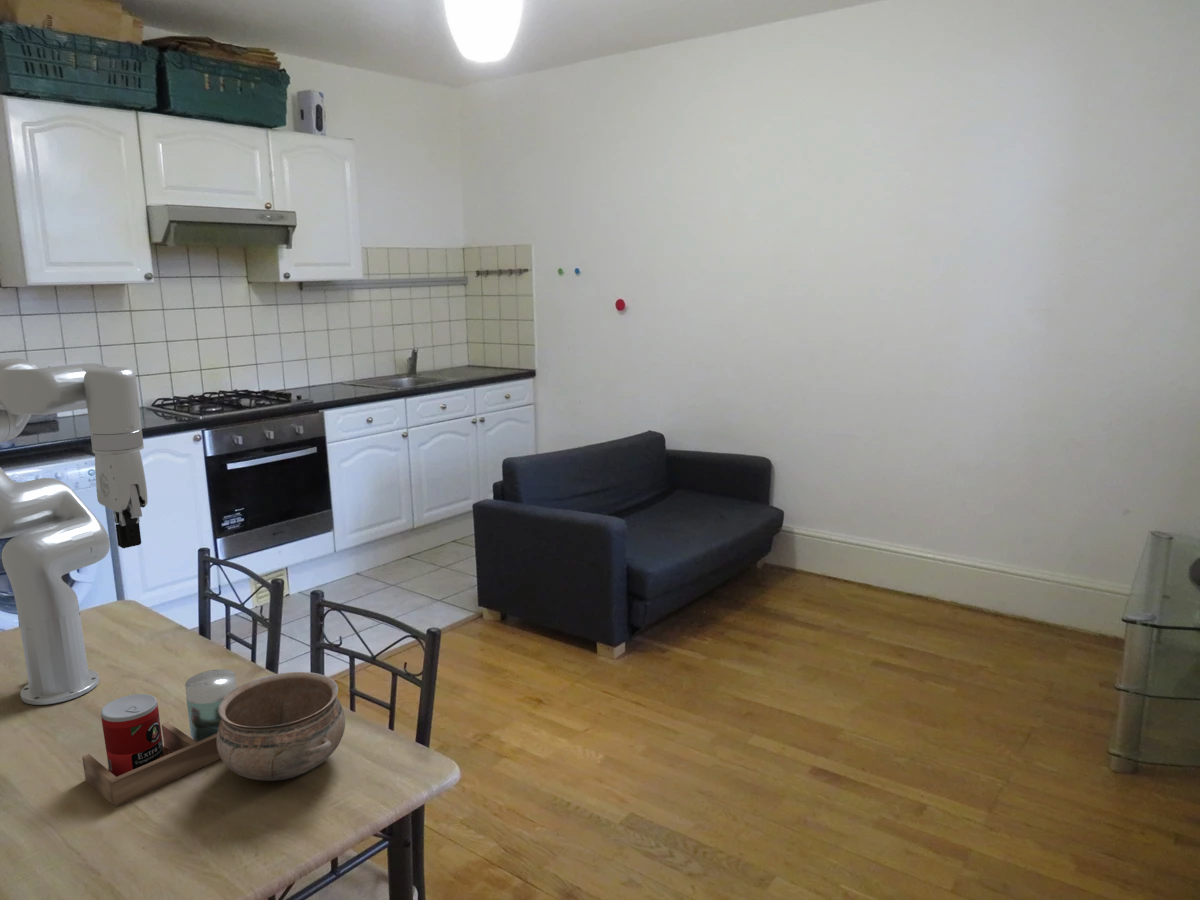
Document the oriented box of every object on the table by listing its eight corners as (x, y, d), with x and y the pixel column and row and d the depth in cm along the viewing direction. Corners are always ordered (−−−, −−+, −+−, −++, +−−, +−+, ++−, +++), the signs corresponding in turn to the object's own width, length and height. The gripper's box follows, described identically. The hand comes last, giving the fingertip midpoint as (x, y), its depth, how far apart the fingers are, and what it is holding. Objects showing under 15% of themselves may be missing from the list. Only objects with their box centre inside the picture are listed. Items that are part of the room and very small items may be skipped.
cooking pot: (191, 764, 134) (183, 694, 131) (301, 718, 147) (295, 654, 145) (267, 831, 117) (259, 752, 115) (382, 772, 131) (377, 701, 129)
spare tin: (183, 742, 140) (176, 681, 138) (227, 723, 146) (221, 665, 144) (206, 757, 136) (198, 695, 133) (250, 737, 141) (244, 677, 139)
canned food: (142, 785, 128) (133, 720, 126) (97, 780, 130) (87, 715, 128) (176, 757, 136) (168, 695, 133) (133, 753, 137) (124, 691, 135)
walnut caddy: (85, 780, 130) (81, 756, 129) (238, 714, 149) (236, 694, 148) (115, 806, 123) (111, 782, 122) (272, 734, 142) (269, 713, 141)
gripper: (76, 438, 142) (89, 541, 146) (110, 451, 132) (123, 560, 136) (124, 432, 148) (135, 531, 151) (159, 444, 138) (170, 549, 142)
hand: (129, 545), depth 144 cm, fingers closed
